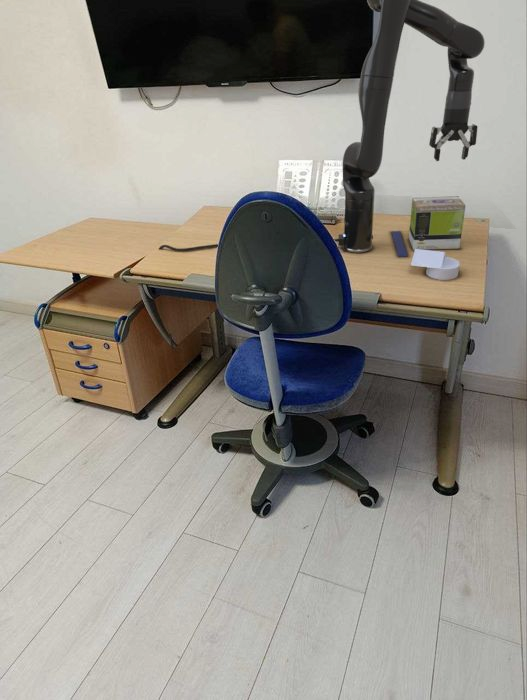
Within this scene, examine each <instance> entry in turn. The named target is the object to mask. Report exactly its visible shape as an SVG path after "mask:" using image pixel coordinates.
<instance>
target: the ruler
mask: <svg viewBox="0 0 527 700" xmlns="http://www.w3.org/2000/svg"><path fill="white" fill-rule="evenodd" d="M391 235H392V239H393V242H394V247H395V250H396V253H397V256H398V258H407V257H408V253H407V250H406V248H405V247H406V246H405V244H404V240H403V237H402V235H401V231H400V230H396V231H391Z"/></svg>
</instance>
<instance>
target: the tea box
mask: <svg viewBox="0 0 527 700" xmlns="http://www.w3.org/2000/svg"><path fill="white" fill-rule="evenodd" d="M410 210H411V211H410V222H409V231H408V233H409V234H408V240H409V242H410V245H411V248H412V250H414V251H415V249H421V250H453V249H456V250H457V249H460V247H461V243H462V235H463V227H464V221H465V220H464V219H465V213H466V204H465V202H464V201H463V200H462V199H461V197H460V196H459V195H450V196H432V197H429V196H427V197H412V200H411V209H410Z"/></svg>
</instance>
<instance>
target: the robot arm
mask: <svg viewBox="0 0 527 700" xmlns="http://www.w3.org/2000/svg"><path fill="white" fill-rule="evenodd" d="M366 2H367V5H368V6H369V8H370V9H371V10H372V11H373V12H376V13H378V14H380V15H379V21H378V28H377V32H376V35H375V38H374V40H373V43H372V45H371V47H370V49H369V51H368V53H367V55H366V57H365V58H364V59H365V60H364V61H363V64H362V66H361V71H360V77H359V84H358V92H357V93H358V95H357V97H358V105H359V112H360V117H361V123H362V127H361V128H362V129H361V131H362V132H361V137H360V141H355V142H352V143H350V144H348V146H347V147H346V149H345V150H344V153H343V156H342V187H343V190H344V217H343V219H344V220H343V234H338V238H335V239H333V240H335V241H336V242H335V243H338V246H342V247H343V252H348V253H353V254H354V253H356V254H360V253H362V254H363V253H367V252H370V251H371V250H372V248H373V239H374V235H373V230H374V228H373V227H374V213H375V211H374V210H375V197H376V196H375V194H376V191H375V190H376V189H375V186H374V185H373V183H372V182H371V180H370V178H373V177H374V176H375V175H376V174H377V173H378V172H379V170H380V168H381V166H382V161H383V151H384V142H385V141H384V140H385V131H386V123H387V118H388V111H389V104H390V99H391V94H392V90H393V89H392V88H393V83H394V77H395V70H396V64H397V59H398V54H399V48H400V43H401V38H402V33H403V30H404V26H405V25H407V26H408V27H410V28H412V29H414V30H415V31H418V32H419V33H421V35H424V36H425V37H427V38H428V39H430V40H431V41H433V42H434V43H436V44H437V45H439V46H441V47H446V48H447V62H448V63H447V65H448V70H449V78H448V79H449V80H448V86H447V93H446V96H445V102H444V111H443V117H442V125H441V126H439V127H437V126H432V127H431V132H430V137H429V142H428V143H429V147H431V148H432V149H434V151H433V152H434V153H433V159H434V160H435V162H440V156H441V148H442V146H443V145H445V144H446V143H447V141H448V142H452V141H456V142H458V141H460V142H461V143H462V145H463V146H462V150H461V151H462V152H461V157H460V159H461V160H466V159H467V158H468V157H469V150H470V147H473V146H475V145H476V144H477V136H478V125H477V124H474V123H472V124H471V125H469V118H470V112H471V106H472V98H473V97H472V95H473V93H472V92H473V86H474V85H473V84H474V78H475V70H474V69H473V67H471V66H469V65H468V60H472V59H476V58H477V57H478V56H480V55H481V54H482V52H483V51H484V48H485V43H486V42H485V41H486V40H485V38H484V35H483V34H482V32H481V31H480V30H478V29H476V28H475V27H473V26H470V25H468V24H465V23H463V22H461V21H458V20H456V18H454V17H453V16H452V15H450V14H449V13H447V12H446V11H444V10H442V9H441V8H439V7H437V6H435V5H431V4H429V3H426V2H423V1H421V0H366ZM440 132H441V134H442V135H441V136H440V137H439V139H438V140H437V136H438V135H439V134H440ZM467 132H469V133H470V134H469V135H470V136H469V140H468V139H467V136H466V135H465V134H466V133H467ZM436 141H437V142H436ZM218 244H219V243H218ZM218 244H217V243H216V244H215V243H214V244H206V245H199V246H192V247H186V248H185V247H184V248H176V247H173V246H170V245H169V244H162V245H160V246H159V247H158V250H159V251H160V250H162V249H164V248H167V249H169V250H171V251H174V252H188V251H195V250H201V249H209V248H210V249H211V248H218V247H217V246H218ZM168 336H169V337H168V338H169V342H170V341H171V342H170V348H171V349H172V350H174V349H175V347H174V342H173V341H174V340H173V336H172V333H168Z"/></svg>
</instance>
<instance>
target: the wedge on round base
mask: <svg viewBox="0 0 527 700" xmlns="http://www.w3.org/2000/svg"><path fill="white" fill-rule="evenodd" d="M460 265H461V263H460V261H459V260H458V259H456V258H452V257H449V256H447V255H446V251H438V250H432V249H423V250H421V249H415V250H414V252H413V255H412V259H411V263H410V266H414V267H422V268H426V271H425V273H426V275H427V276H428V277H430V278H431V279H433V280H434V279H435V280H440V281H449V280H454V279H456V278H457V277H458V276H459V271H460Z"/></svg>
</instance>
